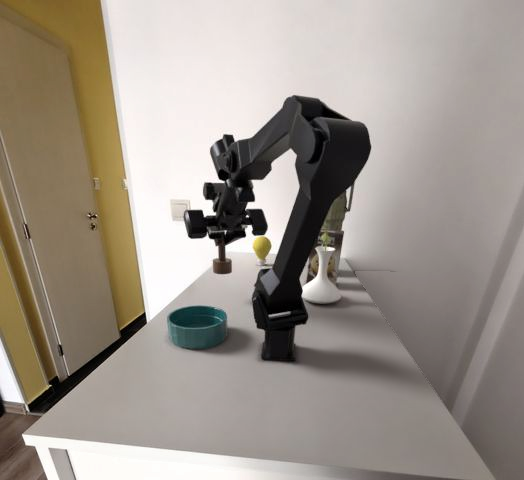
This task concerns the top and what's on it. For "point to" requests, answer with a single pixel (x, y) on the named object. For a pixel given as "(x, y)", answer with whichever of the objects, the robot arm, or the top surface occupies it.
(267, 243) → the light bulb
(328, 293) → the flower in vase
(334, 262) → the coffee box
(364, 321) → the top surface
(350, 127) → the robot arm
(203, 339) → the bowl
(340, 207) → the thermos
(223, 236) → the brown peg stamp
